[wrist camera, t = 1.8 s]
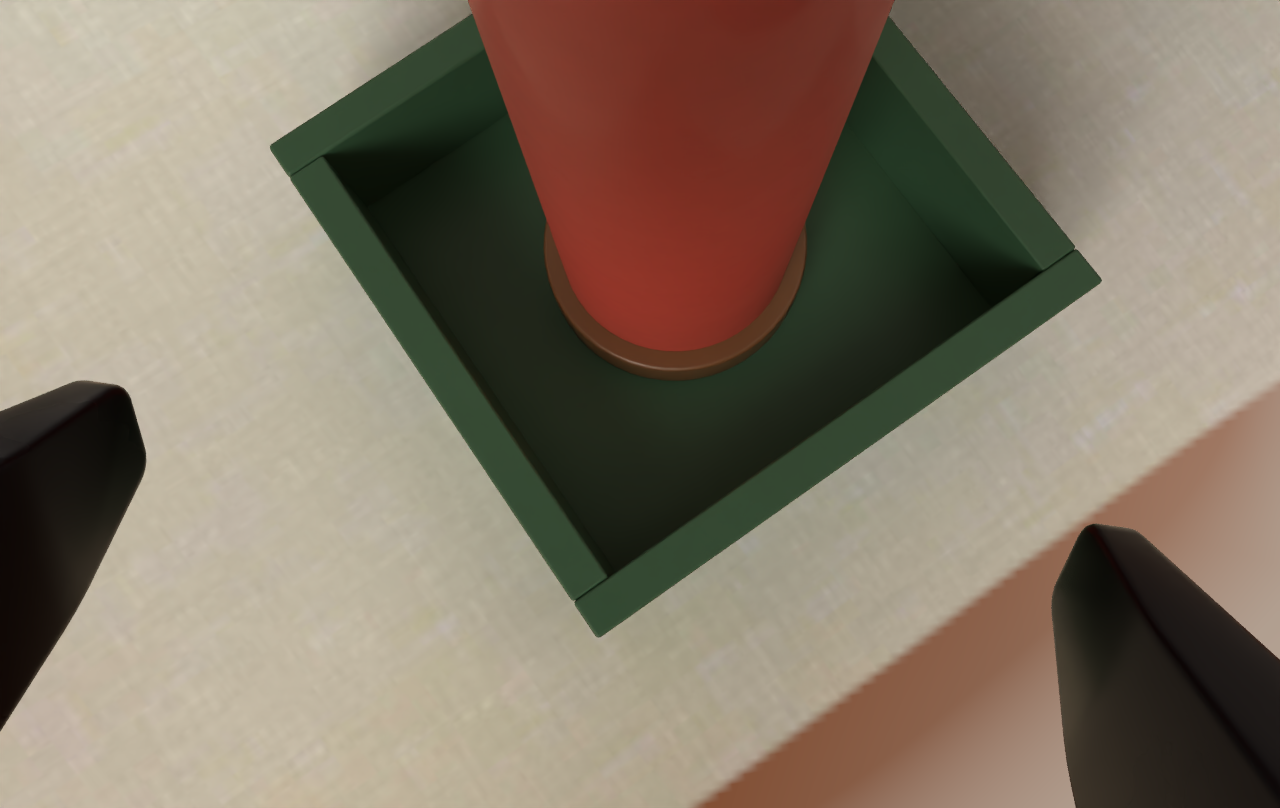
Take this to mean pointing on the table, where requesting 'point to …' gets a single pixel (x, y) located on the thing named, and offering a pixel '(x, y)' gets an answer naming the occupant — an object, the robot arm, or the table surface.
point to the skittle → (677, 160)
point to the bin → (690, 409)
